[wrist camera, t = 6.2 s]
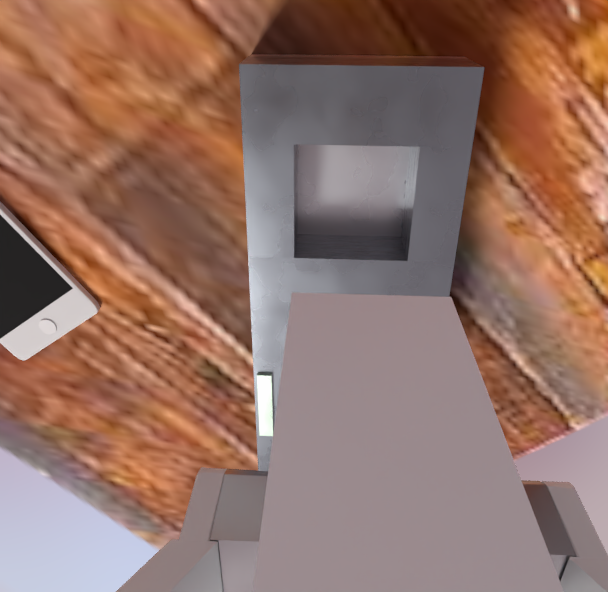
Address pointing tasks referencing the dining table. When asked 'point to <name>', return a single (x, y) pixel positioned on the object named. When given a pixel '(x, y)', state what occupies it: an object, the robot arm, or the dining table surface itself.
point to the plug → (391, 459)
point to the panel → (349, 186)
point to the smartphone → (35, 292)
